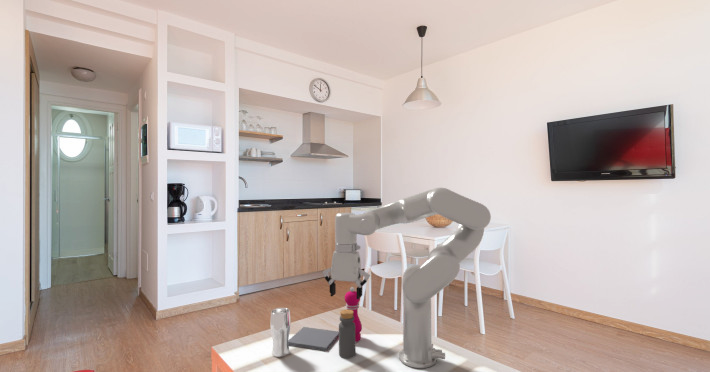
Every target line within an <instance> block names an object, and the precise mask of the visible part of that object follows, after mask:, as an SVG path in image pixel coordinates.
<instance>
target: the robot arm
mask: <svg viewBox="0 0 710 372" xmlns="http://www.w3.org/2000/svg"><path fill="white" fill-rule="evenodd" d="M436 215H439V216H441V217H444V218H445V219H447V220H450V221H452V222H454V223H456V224H458V227H457V228H456V230H455V231H454V232H453V233H451V234H450V235H449V236H448V237H447V238H446V239H445V240H444V241H442V242H440V243H439V244H438V245H437V246H436V247H435V248H433V249H432V250H431V251H430V252H429V253H428V255H427V260H426V261H425V262H424V263H423V264H422V265H419V264H413V265H411V266H409V267H407V268H406V269H405V270H404V273H403V275H402V278H401V279H402V281H401V282H402V283H401V284H402V286H401V287H402V321H403V322H402V334H403V335H402V337H403V338H402V345H403V348H402V349H401V350H400V351H399V353H398V360H399V361H400V362H401V363H402V364H403V365H405V366H407V367H411V368H415V369H425V368H430V367H433V366H434V365H435V364H436V363H437V359H439V360H446V352H443V349H437V348H435V347H434V344H433V343H432V298H433V297H435V296H436V295H437V294H438V293H440V292H441V291H442V290H443V289H444V288H446V287H447V286H448V285H450V284H451V283H452V282H453V281H455V279H456V278H457V276H458V274H459V273H460V268H461V267H460V263H462V262H463V260H465V259H466V258H468V256H469V255H471V253H473V252H474V251H475V250H476V249H477V248H478V246H479V245H480V244H481V241H482V239H483V236H484V232H485V228H486V227H488V225H489V224H490V222H491V218H492V216H491V212H490V210H489V208H488V207H487V206H486V205H484V204H483V203H481V202H478V201H476V200H473V199H471V198H468V197H466V196H463V195H461V194H459V193H457V192H454V191H452V190H451V189H448V188H447V187H435V188H433V189H428V190H426V191H423V192H419V193H417V194H414V195H411V196H408V197H405V198H401V199H398V200H397V201H394V202H392V203H389V204H386V205H383V206H380V207H377V208H374V209H371V210H368V211H364V212H363V213H359V214H358V213H357V214H355V213H354V212H338V213H337V214H336V215H335V219H334V220H335V223H334V228H335V229H334V233H335V234H334V235H335V237H334V239H335V243H334V245H335V246H334V251H333V253H332V258H331V267H329V268H327V269H324V270H323V271H322V274H323V277H324V279H325V281H326V282H327V283H328V285H329V293H330V297H334V295H336V289H337V288H336V281H337V282H338V281H339V282H351V283H355V285H356V286H357V287H356V292H357V299H359V298H360V299H361V297H362V296H363V286H365V285H366V283H367V282H368V281H369V278H370V276H371V275H370V274H369V273H368V272H367V271H365V270H363V269H362V264H361V263H362V262H361V257H360V256H361V255H360V252H359V251H358V250H361V245H359V244H358V242H357V237H358V235H360V236H371V235H373V234H374V233H375V232H376V231H377V230H380V229H383V228H384V229H385V228H387V227H389V226H394V225H399V224H404V225H405V224H410V223H413V222H417V221H419V220H423V219H426V218H430V217H433V216H436ZM329 273H330V274H329ZM362 276H363V277H364V278H363V280H362V279H361V278H362Z"/></svg>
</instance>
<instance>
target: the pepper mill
mask: <svg viewBox="0 0 710 372" xmlns="http://www.w3.org/2000/svg"><path fill="white" fill-rule="evenodd" d="M360 300H361V297H360V298H359V299H357V290H355V288H354V287H353V286H351V287H350V289H349V291H347V292H346V293H345V295H344V302H345V309H346V310H352V311H353V312H354V313H353V316H354V320H353V322H354V323H355V343H358V342H359V341H361V339H362V337H361V336H362V335H361V332H362V330H363V326H362V321H361V319H360V317H359V312H358V310H359V308H360V306H359V305H360V304H359V302H360Z"/></svg>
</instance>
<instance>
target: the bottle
mask: <svg viewBox="0 0 710 372" xmlns="http://www.w3.org/2000/svg"><path fill="white" fill-rule="evenodd" d="M353 313H354V312H353V311H352V310H347V309H342V310H340V311H339V314H340V316H339V321H340V322H339V324H338V331H339V337H338V356H339V357H341V358H343V359H352V358H353V357H355V356H356V347H357V346H356V345H357V344H356V342H355V323H354V322H353V320H354V316H353Z"/></svg>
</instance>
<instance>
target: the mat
mask: <svg viewBox="0 0 710 372" xmlns="http://www.w3.org/2000/svg"><path fill="white" fill-rule="evenodd" d="M337 339H339V330H331V329H330V330H329V329H324V328H315V327H308V326H303V327H302V328H301V329H299V331H297V332H296V333H295V334H294V335H292V337H290V338H289V339H288V345H289V346H290V347H291V346H292V347H299V348H304V349H312V350H318V351H324V352H327V351H328V350H329V348H330V347H331V346H332V345H333V344H334V342H336V341H337Z"/></svg>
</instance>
